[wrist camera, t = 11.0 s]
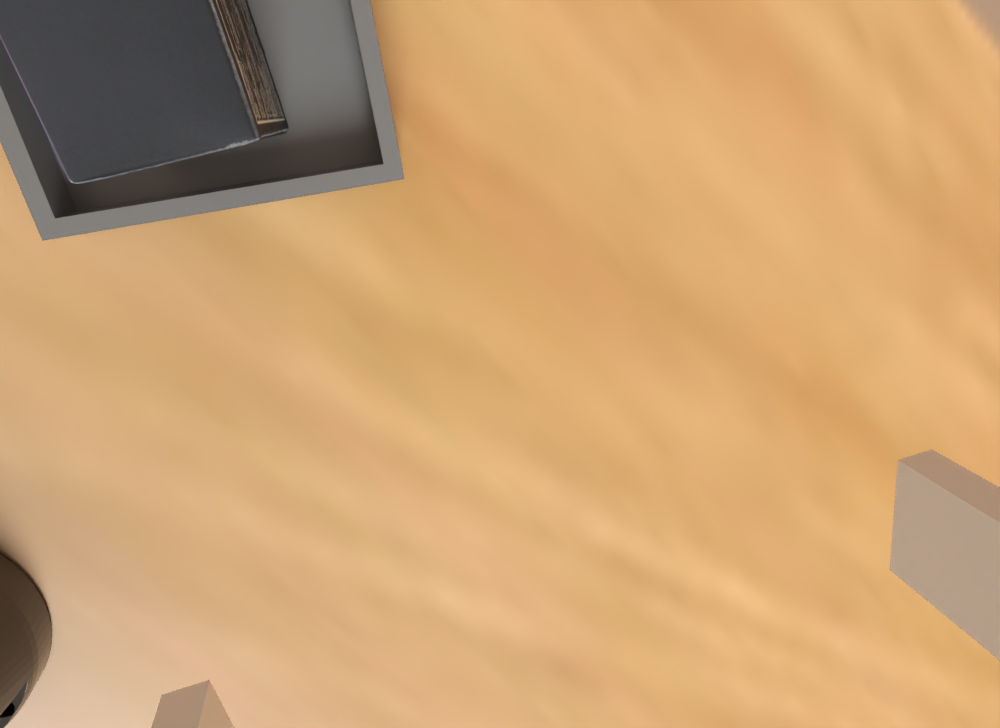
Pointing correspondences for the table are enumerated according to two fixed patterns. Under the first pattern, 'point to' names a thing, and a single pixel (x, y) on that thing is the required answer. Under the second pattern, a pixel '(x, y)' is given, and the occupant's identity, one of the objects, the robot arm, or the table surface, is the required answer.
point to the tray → (243, 169)
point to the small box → (141, 80)
